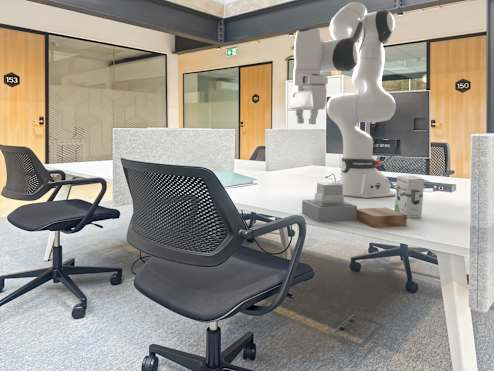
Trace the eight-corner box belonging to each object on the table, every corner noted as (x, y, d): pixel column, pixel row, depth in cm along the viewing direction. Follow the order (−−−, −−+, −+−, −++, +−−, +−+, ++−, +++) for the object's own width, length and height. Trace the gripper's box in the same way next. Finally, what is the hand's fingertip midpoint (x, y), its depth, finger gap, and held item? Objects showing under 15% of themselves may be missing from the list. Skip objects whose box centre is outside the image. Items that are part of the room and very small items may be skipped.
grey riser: (337, 211, 130) (338, 197, 129) (356, 219, 119) (357, 205, 118) (301, 212, 127) (302, 199, 126) (318, 221, 116) (318, 206, 115)
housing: (336, 200, 125) (336, 182, 125) (343, 203, 121) (344, 184, 120) (314, 201, 124) (315, 182, 123) (321, 204, 119) (322, 185, 118)
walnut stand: (385, 217, 122) (385, 207, 122) (406, 225, 112) (407, 214, 112) (354, 218, 119) (355, 208, 119) (373, 227, 110) (374, 216, 109)
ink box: (393, 211, 130) (396, 174, 128) (408, 211, 131) (411, 174, 129) (405, 218, 122) (408, 178, 120) (422, 218, 122) (425, 178, 120)
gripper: (286, 82, 140) (285, 123, 143) (311, 77, 121) (310, 124, 123) (303, 82, 142) (302, 123, 144) (330, 77, 123) (329, 124, 125)
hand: (306, 123), depth 134 cm, fingers open, 8 cm apart
